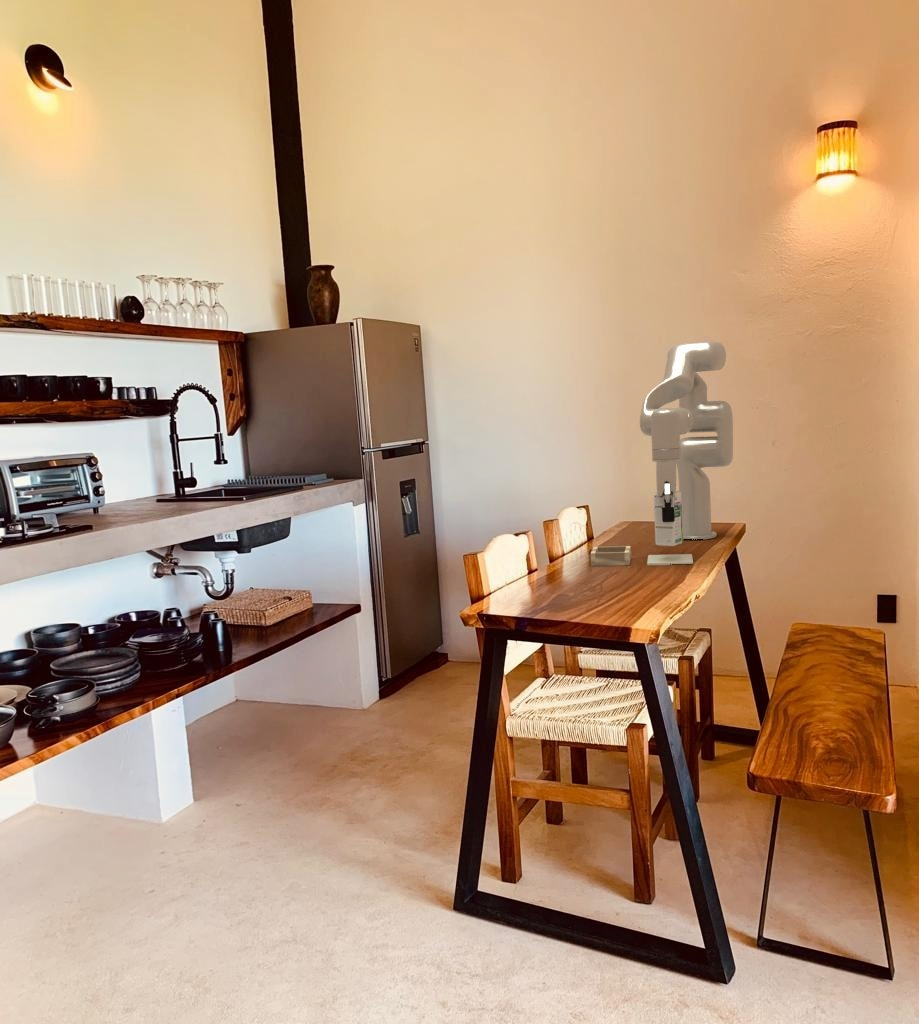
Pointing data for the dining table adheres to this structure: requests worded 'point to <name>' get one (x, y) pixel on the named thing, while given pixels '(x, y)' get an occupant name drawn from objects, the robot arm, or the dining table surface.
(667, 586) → the dining table surface
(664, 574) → the dining table surface
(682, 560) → the mat
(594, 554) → the holder
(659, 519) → the syrup box
